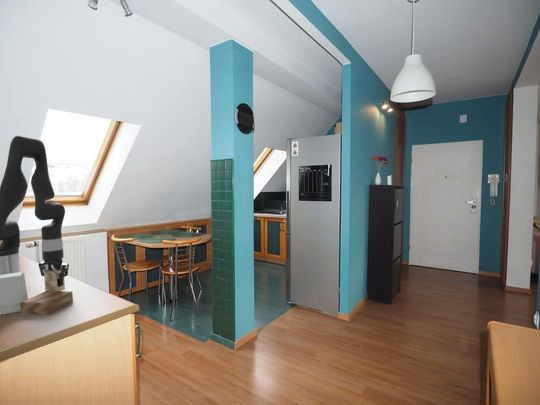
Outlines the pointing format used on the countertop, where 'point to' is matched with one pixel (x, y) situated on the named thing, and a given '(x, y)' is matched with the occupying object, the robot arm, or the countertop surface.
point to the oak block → (52, 281)
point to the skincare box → (12, 292)
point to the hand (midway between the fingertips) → (55, 285)
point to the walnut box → (46, 303)
